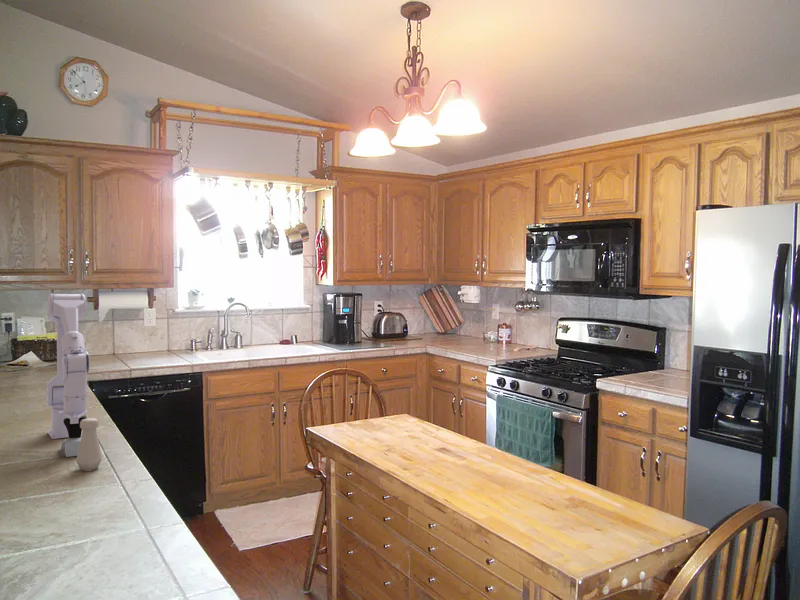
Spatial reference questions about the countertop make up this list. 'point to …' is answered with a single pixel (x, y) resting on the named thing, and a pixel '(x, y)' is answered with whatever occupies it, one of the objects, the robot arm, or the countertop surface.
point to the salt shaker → (89, 446)
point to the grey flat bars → (63, 449)
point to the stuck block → (72, 446)
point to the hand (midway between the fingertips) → (74, 443)
